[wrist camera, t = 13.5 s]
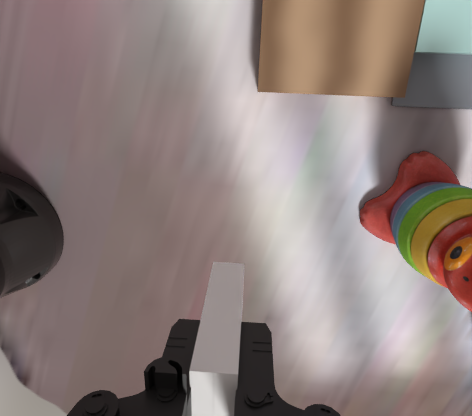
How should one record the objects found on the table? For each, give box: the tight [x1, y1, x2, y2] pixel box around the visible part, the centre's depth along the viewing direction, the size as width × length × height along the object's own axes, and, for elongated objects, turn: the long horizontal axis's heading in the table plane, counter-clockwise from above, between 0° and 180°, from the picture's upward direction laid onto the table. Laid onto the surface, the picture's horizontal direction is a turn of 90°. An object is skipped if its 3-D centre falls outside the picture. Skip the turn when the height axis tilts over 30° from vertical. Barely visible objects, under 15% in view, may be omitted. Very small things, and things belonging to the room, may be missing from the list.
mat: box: [391, 53, 472, 109], centre depth 33 cm, size 11×16×1 cm
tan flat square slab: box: [258, 0, 425, 98], centre depth 33 cm, size 14×14×3 cm
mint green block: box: [414, 0, 472, 55], centre depth 32 cm, size 9×6×2 cm, turn 88°
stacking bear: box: [360, 151, 472, 312], centre depth 32 cm, size 11×10×18 cm
